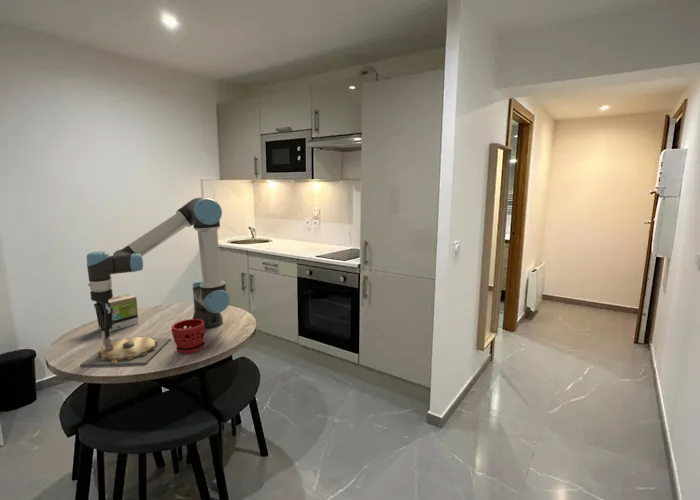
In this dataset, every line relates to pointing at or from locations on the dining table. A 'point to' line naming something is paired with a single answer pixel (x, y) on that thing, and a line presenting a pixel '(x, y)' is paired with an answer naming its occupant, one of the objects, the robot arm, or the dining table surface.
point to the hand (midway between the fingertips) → (107, 343)
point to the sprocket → (126, 348)
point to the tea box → (123, 311)
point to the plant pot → (189, 335)
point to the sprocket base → (138, 360)
